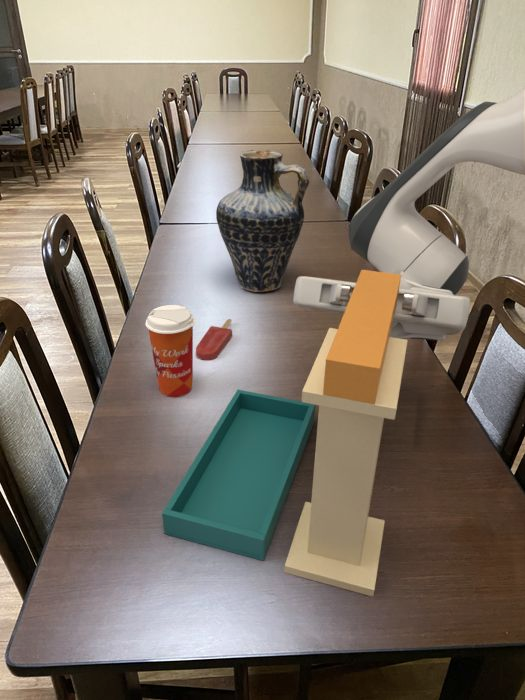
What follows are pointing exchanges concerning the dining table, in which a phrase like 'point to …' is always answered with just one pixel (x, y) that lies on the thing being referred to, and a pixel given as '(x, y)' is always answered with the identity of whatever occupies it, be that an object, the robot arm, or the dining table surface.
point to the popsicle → (214, 341)
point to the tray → (242, 475)
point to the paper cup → (172, 348)
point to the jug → (262, 220)
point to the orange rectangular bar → (362, 338)
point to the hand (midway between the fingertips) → (375, 296)
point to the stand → (345, 480)
